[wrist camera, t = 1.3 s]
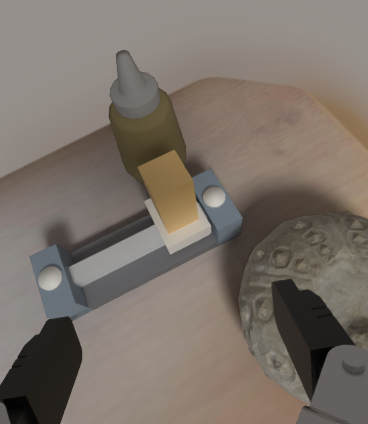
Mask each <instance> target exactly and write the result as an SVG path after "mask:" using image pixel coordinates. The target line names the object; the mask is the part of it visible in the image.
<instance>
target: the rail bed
mask: <svg viewBox="0 0 368 424" xmlns="http://www.w3.org/2000/svg"><path fill="white" fill-rule="evenodd" d="M192 179H193V183H194V190H195V196H196V201H197V203H198V205H199V206H200V208H201V210H202V211H203V213H204V215H205V217H206V218H207V220H208V222H209V223H210V225H211V233H210V235H208V236H206V237H204V238H202V239H200V240H198V241H196V242H194V243H192V244H190V245H188V246H186V247H185V248H183V249H181V250H179V251H177V252H175V253H173V254H171V255H170V253H169V251H168V249H167V247H166V245H165V243H164V241H163V239H162V237H161V235H160V233H159V231H158V229H157V227H156V225H155V223H154V221H153V219H152V217H151V215H150V214H149V215H146V216H144V217H142V218H140V219H138V220H136V221H134V222H132V223H130V224H128V225H126V226H124V227H122V228H120V229H118V230H116V231H114V232H112V233H110V234H108V235H106V236H104V237H102V238H100V239H98V240H96V241H94V242H92V243H89V244H87V245H85V246H83V247H81V248H79V249H77V250H75V251H73V252H71V253H68V252H67V251H65V250H64V249H63V248H61V247H60V246H58V245H57V244H54V245H52V246H50V247H48V248H46V249H44V250H42V251H40V252H38V253H36V254H34V255H32V256H30V260H31V263H32V267H33V270H34V274H35V277H36V281H37V284H38V288H39V291H40V295H41V298H42V302H43V305H44V309H45V313H46V316H47V318H51V319H54V318H60V317H65V316H69V317H70V318H71V320H72V321H73V320H75V319H77V318H78V317H80V316H82V315H84V314H86V313H88V312H90V311H92V310H94V309H96V308H98V307H100V306H102V305H104V304H106V303H108V302H109V301H111V300H113V299H115V298H117V297H119V296H121V295H123V294H125V293H127V292H129V291H131V290H133V289H135V288H137V287H139V286H141V285H142V284H144V283H146V282H148V281H150V280H152V279H154V278H156V277H158V276H160V275H162V274H164V273H166V272H168V271H170V270H172V269H173V268H175V267H177V266H179V265H181V264H183V263H185V262H187V261H189V260H191V259H193V258H195V257H197V256H199V255H201V254H203V253H205V252H206V251H208V250H210V249H212V248H214V247H216V246H218V245H220V244H222V243H224V242H226V241H228V240H230V239H232V238H234V237H236V236H238V235H239V234H240V231H241V225H242V219H243V217H242V216H241V214H240V213H239V211H238V210H237V208H236V206H235V205H234V203H233V202H232V200H231V199H230V197H229V196H228V194H227V193H226V191H225V189H224V188H223V186H222V185H221V183H220V182H219V180H218V179H217V177H216V176H215V174H214V172H213V171H212V169H209V170H207V171H205V172H202V173H200V174H198V175H196V176H194V177H192Z"/></svg>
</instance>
